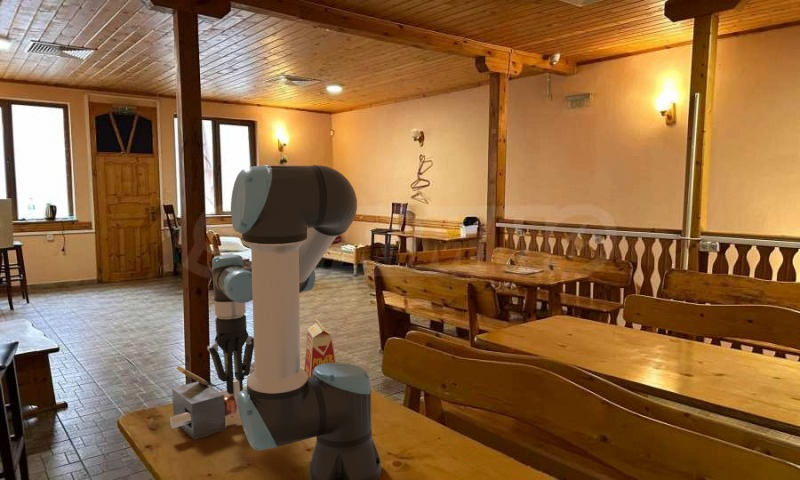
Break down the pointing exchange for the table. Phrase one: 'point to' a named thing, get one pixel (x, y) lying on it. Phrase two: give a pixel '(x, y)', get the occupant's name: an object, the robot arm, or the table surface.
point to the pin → (186, 417)
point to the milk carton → (318, 348)
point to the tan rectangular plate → (192, 376)
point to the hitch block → (200, 408)
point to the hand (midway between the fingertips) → (235, 404)
